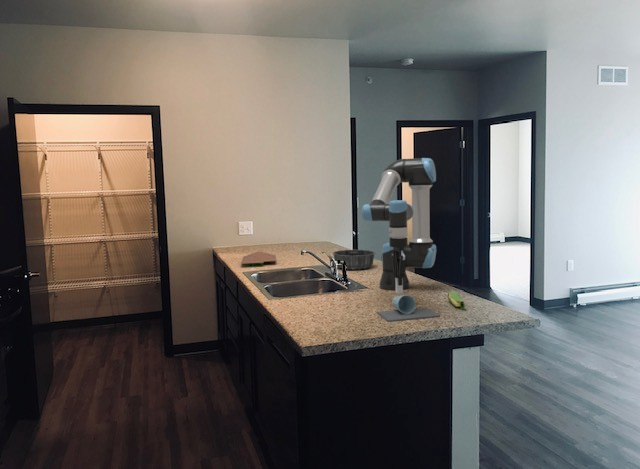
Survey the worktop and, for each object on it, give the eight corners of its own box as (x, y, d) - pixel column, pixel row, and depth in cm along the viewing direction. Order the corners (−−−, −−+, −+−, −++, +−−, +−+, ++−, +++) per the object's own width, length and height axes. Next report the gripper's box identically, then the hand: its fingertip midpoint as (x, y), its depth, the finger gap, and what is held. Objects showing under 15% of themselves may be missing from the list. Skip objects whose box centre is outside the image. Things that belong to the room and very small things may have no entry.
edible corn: (458, 291, 243) (448, 288, 243) (468, 302, 223) (457, 299, 223) (455, 301, 243) (445, 299, 243) (464, 314, 224) (454, 311, 224)
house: (276, 259, 383) (275, 247, 382) (276, 266, 351) (276, 254, 350) (243, 260, 381) (243, 249, 380) (241, 268, 349) (240, 256, 348)
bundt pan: (375, 264, 347) (375, 248, 346) (375, 271, 321) (375, 255, 320) (334, 264, 349) (334, 249, 348) (331, 272, 323) (331, 255, 322)
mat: (376, 313, 224) (376, 311, 224) (425, 308, 229) (425, 307, 229) (388, 321, 211) (388, 320, 211) (440, 316, 216) (440, 315, 215)
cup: (388, 310, 228) (397, 312, 218) (390, 292, 228) (399, 294, 218) (405, 312, 229) (414, 314, 219) (407, 294, 230) (416, 296, 220)
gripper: (384, 236, 231) (385, 290, 234) (395, 239, 218) (396, 296, 221) (401, 235, 233) (402, 288, 235) (412, 238, 220) (413, 294, 223)
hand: (399, 292), depth 228 cm, fingers closed
